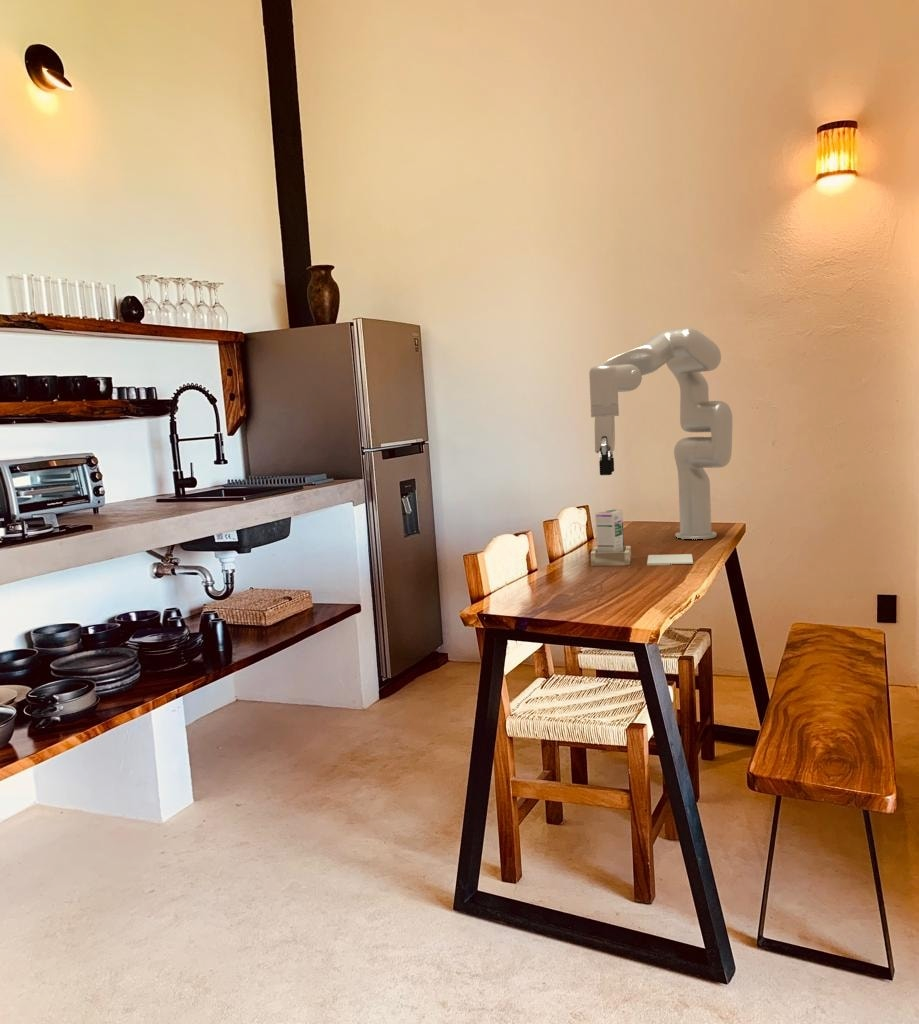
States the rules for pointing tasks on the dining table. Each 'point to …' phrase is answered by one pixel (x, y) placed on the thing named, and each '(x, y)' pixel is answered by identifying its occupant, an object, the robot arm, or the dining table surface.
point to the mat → (670, 559)
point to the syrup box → (609, 531)
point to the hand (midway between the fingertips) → (607, 473)
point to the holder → (610, 557)
